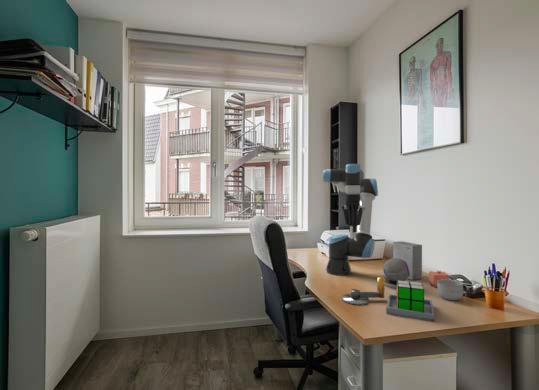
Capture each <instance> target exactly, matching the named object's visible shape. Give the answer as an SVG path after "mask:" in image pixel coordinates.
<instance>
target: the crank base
mask: <svg viewBox="0 0 539 390" xmlns="http://www.w3.org/2000/svg"><path fill="white" fill-rule="evenodd" d="M341 300H342V302H343V303H346V304H349V305H354V306H364V305H367V304H369V302H370V298H358V299H356V298H352V297H351V293H345V294H343V295H342V296H341Z"/></svg>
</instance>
